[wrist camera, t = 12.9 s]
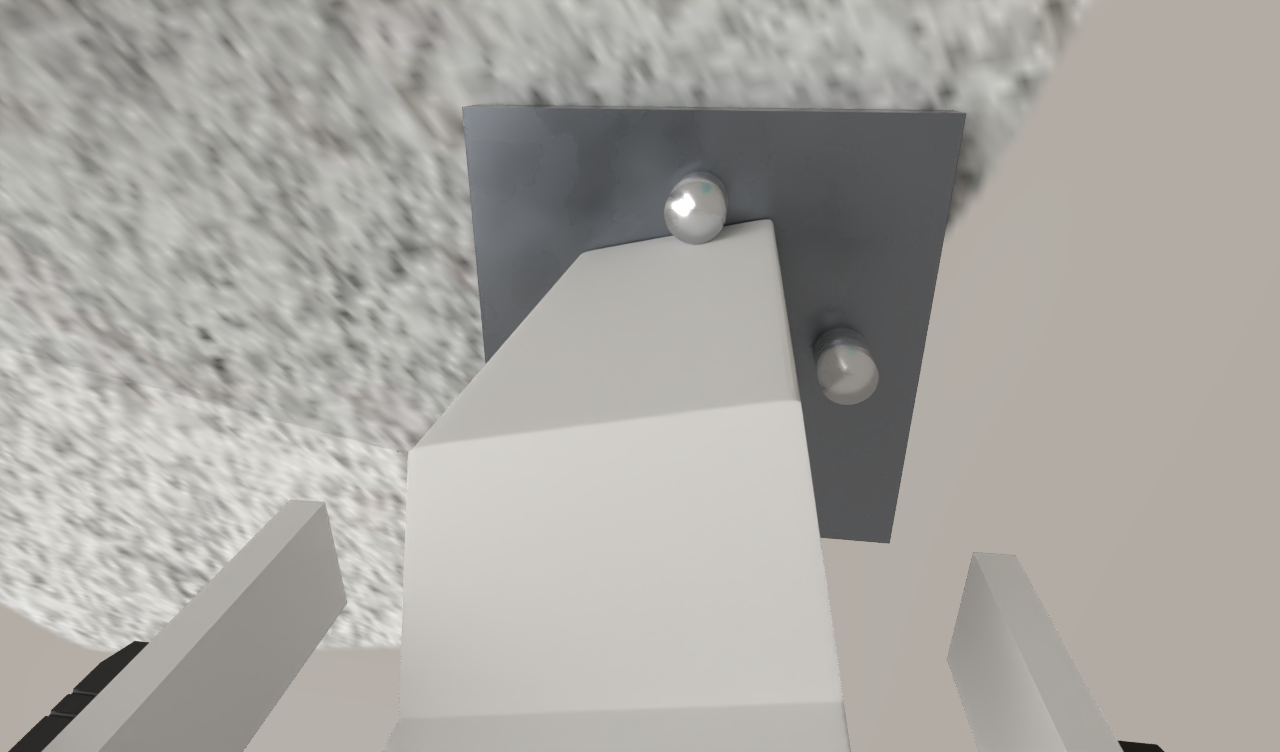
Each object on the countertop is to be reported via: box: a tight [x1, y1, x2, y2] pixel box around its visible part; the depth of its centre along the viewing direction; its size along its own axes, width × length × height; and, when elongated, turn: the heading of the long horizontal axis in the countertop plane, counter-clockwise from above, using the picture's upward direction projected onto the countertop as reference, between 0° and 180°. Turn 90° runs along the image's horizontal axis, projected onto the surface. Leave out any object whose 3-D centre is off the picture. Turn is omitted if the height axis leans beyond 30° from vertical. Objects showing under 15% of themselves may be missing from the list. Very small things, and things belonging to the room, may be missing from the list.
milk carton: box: [382, 219, 851, 752], centre depth 19 cm, size 7×7×19 cm
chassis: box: [462, 105, 966, 543], centre depth 27 cm, size 17×17×4 cm
